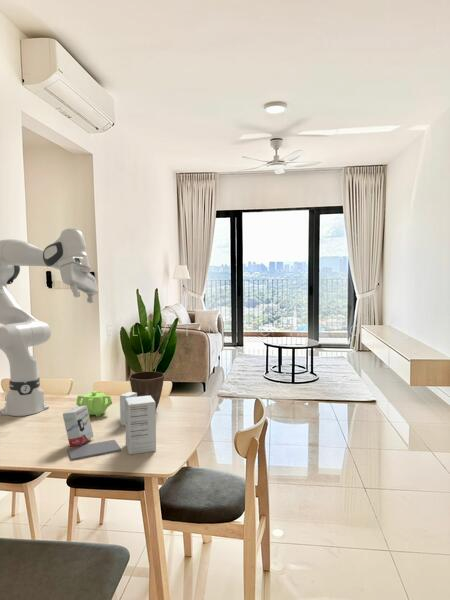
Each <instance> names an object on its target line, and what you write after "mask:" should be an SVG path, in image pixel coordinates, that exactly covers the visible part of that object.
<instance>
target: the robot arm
mask: <svg viewBox="0 0 450 600" xmlns="http://www.w3.org/2000/svg"><path fill="white" fill-rule="evenodd" d="M85 239H86V238H85V237H84V234H83V233H82V231H80V230H78V229H75V228H66V229H64V230H62V231H61V233H60V236H59V237H58V238H57V239H56V240H55V241H54V242H53V243H51V244H48V245H47V246H46V247H45V248H44V249H43V248H40V247H38V246H36V245H35V244H31V243H30V242H27V241H23V240H21V239H11V238H10V239H9V238H8V239H7V238H6V239H0V324H1V325H3V326H0V350H1V351H2V352H3V353H4V355H5V356H6V357H7V360H8V364H9V373H10V374H9V375H10V376H9V377H10V380H9V384H8V385H9V387H8V388H9V391H8V392H7V393H6V394H5V398H4V401H5V404H4V407H3V409H2V410H1V412H0V415H5V416H6V415H7V416H12V417H13V416H14V417H21V416H23V417H24V416H29V415H34V414H37V413H41V412H42V411H44V410H48V409H49V408H50V406H49V405H48V404H47V403H45V395H44V394H45V393H44V390H43V388H41V387H40V385H41V380H40V376H39V361H38V359H37V358H36V357H35V356H33V355H31V353H30V350H29V348H30V347H35V346H39V345H41V344H44V343H46V342H48V341H49V339H50V338H51V334H52V330H51V327H50V325H49V324H48V323H47V322H46V321H42V320H40V319H37V318H36V317H34V316H33V315H31V314H30V313H29V312H27V311H26V310H25V309H24V308H22V306H21V305H20V304H19V302H18V301H17V300H16V299H15V297H14V295H13V294H12V293H11V292H10V290H9V288H8V287H7V286H8V285H12V284H13V282H14V280H16V279H18V278H17V277H18V276H19V274H20V271H21V267H28V266H29V267H47V268H52V269H55V270H59V272H60V277H61V280H62V282H63V284H65V285H67V286H69V288H70V290H71V291H72V294H73V297H74V298H79V297H80V296H81V293H80V291H81V292H82V293H84V294H86V295H87V298H86V301H87V303H88V304H92V303H94V295H96V294H98V293H99V287H98V282H97V279H96V278H95V276H94V275H93V274H92V273H91V272H90V271H91V265H90V259H89V256H88V254H87V251H88V250H87V249H88V248H87V244H86V240H85Z"/></svg>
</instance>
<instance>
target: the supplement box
mask: <svg viewBox="0 0 450 600" xmlns="http://www.w3.org/2000/svg"><path fill="white" fill-rule="evenodd" d="M156 413H157V409H156V402H155V401H154V400H153V398H152V397H151V396H139V397H129V398H125V417H126V422H125V425H124V427H125V429H124V430H125V448H126V450H127V453H128V455H135V454H142V453H150V452H156V451H157V431H156V430H157V422H156V421H157V420H156V418H157V414H156Z"/></svg>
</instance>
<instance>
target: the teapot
mask: <svg viewBox="0 0 450 600" xmlns="http://www.w3.org/2000/svg"><path fill="white" fill-rule="evenodd" d="M75 405H77V407H79V406H87V409H88V414H89V417H90V416H93V415H94V416H95V417H96V418H101V415H102V414H104V413H105V412H106V411H107V409H108V407H110V406H112V405H113V399H112V396H111V395H110V394H109V395H106V394H105V392H101V391H96V390H94V391H91V392H89V393H86V394H84V395H83V394H82V395H77V399H76V404H75Z"/></svg>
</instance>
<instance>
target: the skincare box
mask: <svg viewBox="0 0 450 600" xmlns="http://www.w3.org/2000/svg"><path fill="white" fill-rule="evenodd" d="M129 397H137V393H135V392H132V391H127V392H125V393H122V394H120V395H119V414H120V415H119V416H120V420H119V421H120V425H121V426H125V422H126V417H125V398H129Z"/></svg>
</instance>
